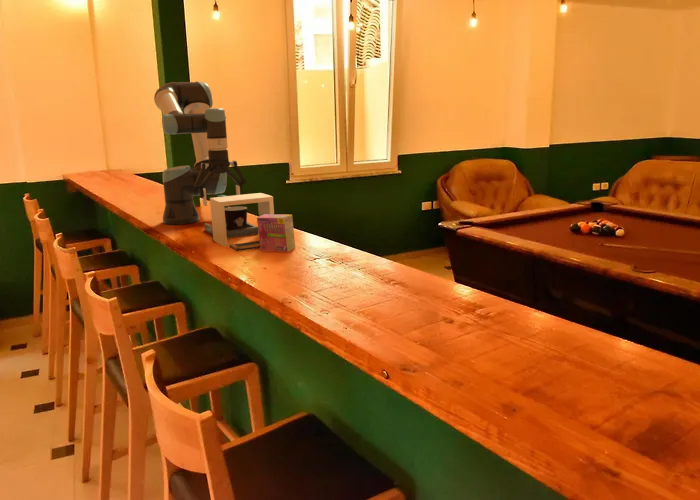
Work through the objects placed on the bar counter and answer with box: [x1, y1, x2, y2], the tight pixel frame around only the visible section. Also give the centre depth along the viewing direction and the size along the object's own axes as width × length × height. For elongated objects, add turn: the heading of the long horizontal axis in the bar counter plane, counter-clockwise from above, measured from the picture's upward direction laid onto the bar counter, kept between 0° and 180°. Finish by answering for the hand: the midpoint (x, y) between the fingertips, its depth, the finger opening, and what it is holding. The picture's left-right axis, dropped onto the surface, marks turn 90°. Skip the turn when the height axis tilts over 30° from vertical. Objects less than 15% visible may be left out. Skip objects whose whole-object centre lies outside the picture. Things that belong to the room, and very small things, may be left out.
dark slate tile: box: [228, 240, 261, 252], centre depth 193 cm, size 8×16×1 cm, turn 119°
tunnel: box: [209, 192, 275, 247], centre depth 201 cm, size 12×19×16 cm, turn 119°
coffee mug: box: [224, 206, 248, 230], centre depth 210 cm, size 12×9×10 cm
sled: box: [204, 194, 259, 239], centre depth 215 cm, size 20×15×13 cm
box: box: [256, 213, 296, 253], centre depth 186 cm, size 10×6×12 cm, turn 68°
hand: (222, 203), depth 222 cm, fingers open, 13 cm apart
